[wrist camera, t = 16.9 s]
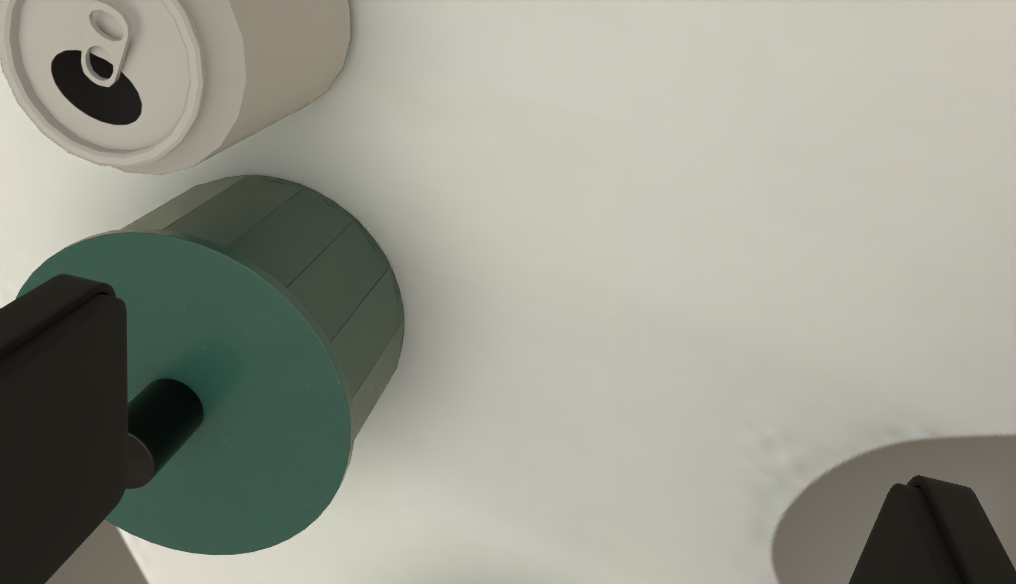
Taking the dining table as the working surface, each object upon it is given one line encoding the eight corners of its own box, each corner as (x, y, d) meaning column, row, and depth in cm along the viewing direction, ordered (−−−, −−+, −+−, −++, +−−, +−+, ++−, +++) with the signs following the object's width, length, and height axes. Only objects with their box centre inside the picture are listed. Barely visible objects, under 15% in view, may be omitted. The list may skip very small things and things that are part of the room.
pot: (143, 147, 39) (13, 206, 31) (421, 209, 38) (358, 286, 30) (143, 391, 44) (32, 493, 36) (387, 452, 43) (326, 570, 35)
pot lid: (10, 185, 32) (-90, 227, 27) (379, 269, 30) (333, 327, 26) (31, 492, 37) (-50, 565, 33) (342, 572, 36) (299, 659, 32)
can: (156, 50, 37) (-58, 108, 26) (217, -125, 34) (3, -142, 23) (314, 141, 37) (169, 236, 27) (389, -23, 34) (259, 8, 23)
